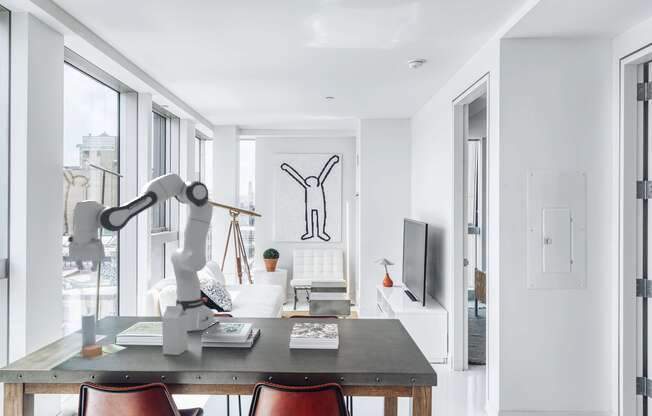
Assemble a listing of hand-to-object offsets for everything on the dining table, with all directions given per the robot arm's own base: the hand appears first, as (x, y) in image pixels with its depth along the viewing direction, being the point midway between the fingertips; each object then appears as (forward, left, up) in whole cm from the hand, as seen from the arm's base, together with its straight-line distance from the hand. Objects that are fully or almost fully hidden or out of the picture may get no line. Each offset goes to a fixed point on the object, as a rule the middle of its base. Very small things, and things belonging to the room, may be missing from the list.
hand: (87, 270), depth 191 cm
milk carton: (-14, +37, -33) cm, 52 cm away
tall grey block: (0, 0, -33) cm, 33 cm away
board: (+2, +12, -33) cm, 35 cm away
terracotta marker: (+6, +12, -32) cm, 35 cm away
